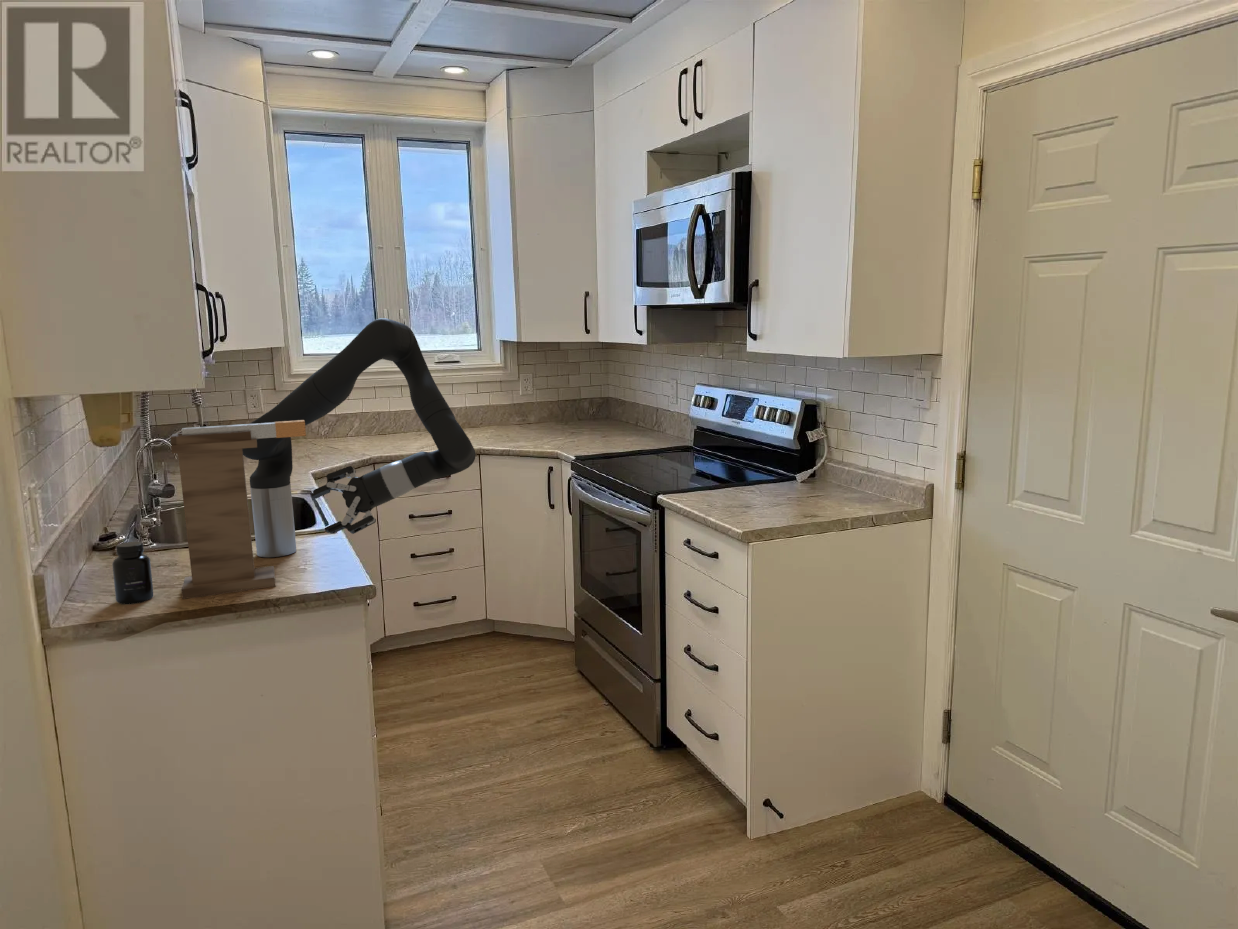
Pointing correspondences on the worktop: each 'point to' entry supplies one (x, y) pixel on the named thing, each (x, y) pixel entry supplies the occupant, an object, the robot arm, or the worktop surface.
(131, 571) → the supplement bottle
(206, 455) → the post
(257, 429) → the grey and tan bar
